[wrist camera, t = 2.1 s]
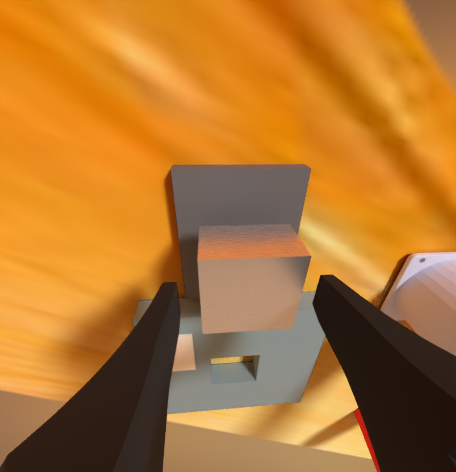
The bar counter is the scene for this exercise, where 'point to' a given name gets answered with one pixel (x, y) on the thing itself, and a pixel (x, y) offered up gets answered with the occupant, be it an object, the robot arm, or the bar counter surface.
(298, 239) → the tan cubic block
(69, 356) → the bar counter surface
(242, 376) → the hole plate
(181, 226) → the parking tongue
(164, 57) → the bar counter surface
